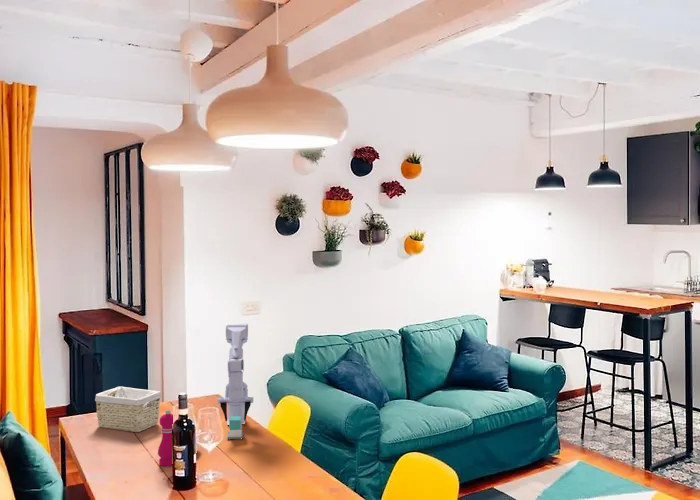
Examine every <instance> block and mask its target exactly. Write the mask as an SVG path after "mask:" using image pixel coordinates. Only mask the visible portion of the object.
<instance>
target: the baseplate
mask: <svg viewBox="0 0 700 500" xmlns="http://www.w3.org/2000/svg"><path fill="white" fill-rule="evenodd" d="M241 438H243V439H244V431H243V430H242V437H229V431H228V432H227V439H241Z"/></svg>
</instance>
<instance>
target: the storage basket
mask: <svg viewBox="0 0 700 500" xmlns="http://www.w3.org/2000/svg"><path fill="white" fill-rule="evenodd" d="M161 393H162V391H159V390H153V389H151V390H150V389H143V388H133V387H129V386H128V387H126V386H116V387H114V388H111V389H107V390H104V391H102V392H99V393H96V394H95V399H94V401H95V403H96V418H97V426H98V427H99V428H102V429H110V430H111V429H112V430H118V431H119V430H120V431H125V432H133V433H140V432H141V431H144V430H147V429H149V428H151V427H154V426H155V425H158V423H159V418H160V417H159V415H160V403H161V398H162V394H161Z"/></svg>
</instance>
